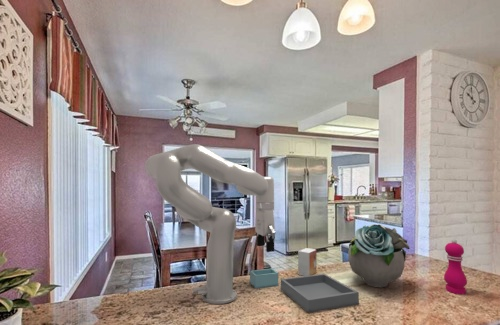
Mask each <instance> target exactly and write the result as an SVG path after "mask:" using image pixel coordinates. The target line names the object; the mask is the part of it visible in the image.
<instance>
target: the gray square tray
mask: <svg viewBox="0 0 500 325" xmlns="http://www.w3.org/2000/svg"><path fill="white" fill-rule="evenodd" d="M280 290H281V291H282V292H283V293H284V294H285V295H287V297H289V298H290V299H291V300H292V301H293V302H294V303H296V304H297V305H298V306H299V307H300V308H302V309H303V310H304V311H306V313H308V314H310V313H317V312H322V311H327V310H334V309H339V308H345V307H346V308H347V307H351V306H355V305H359V304H360V292H359V291H357V290H356V289H354V288H352V287H350V286H348V285H347V284H344V283H343V282H340V281H339V280H337V279H335V278H334V277H332V276H329V275H328V274H326V273H317V274H313V275H310V276H303V275H301V276H294V277H287V278H280Z"/></svg>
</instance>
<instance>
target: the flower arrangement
mask: <svg viewBox="0 0 500 325" xmlns="http://www.w3.org/2000/svg"><path fill="white" fill-rule="evenodd" d="M404 248H405V249H406V250H410V248H411V247H410V245H409V244H408V240H406V239H405V238H404V237H403V236H402V235H401V234H400V233H398V231H397V229H396V227H395V228H390V227H385V226H384V225H382V224H371V225H367V226H366V225H363V226H362V227H360V228H357V229H356V230H355V233H354V236H353V237H352V239H351V240H350V242H349V244H348V252H347V253H348V254H347V255H348V256H347V258H348V264H349V266H350V269H351V271H352V272H353V273H354V274H355V275H357V276H358V277H359V278H361V279H363V281H364V283H365V284H366V285H368V286H370V287H372V288H373V287H375V288H385V287H387V286H388V284H389V283H391V282H395V281H396V280H398V279H400V278H401V277H402V275H403V272H404V269H405V262H406V259H407V258H406V257H407V256H406V255H407V252H406V250H405V249H404Z"/></svg>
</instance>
